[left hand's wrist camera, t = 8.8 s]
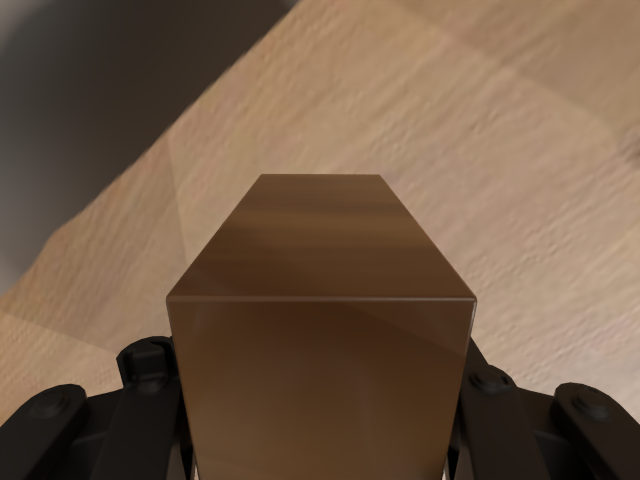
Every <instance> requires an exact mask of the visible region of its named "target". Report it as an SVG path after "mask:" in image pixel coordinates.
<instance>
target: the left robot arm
mask: <svg viewBox="0 0 640 480" xmlns="http://www.w3.org/2000/svg"><path fill="white" fill-rule="evenodd" d="M116 360H117V364H118V368H119V371H120V375H121V379H122V383H123V388H122V389H119V390H116V391H113V392H108V393H104V394H100V395H96V396H91V397H87V395H86V392H85V390H84V389H83V388H82V387H81V386H80V385H75V384H64V385H58V386H55V387H52V388H49V389H46V390H44V391H42V392H40V393H38V394H37V395H35V396H33V397H31V398H30V399H29V400H28V401H27V402H25V403H24V404H23V405H22V406H21V407H20V408H19V409H18V410H17V411H16V412H15V413H14V414H13V415H12V416H11V417H10V418H9V419H8V420H7V421H6V422H5V423H4V424H3V425H2V426H1V427H0V480H194V477H195V466H196V462H195V456H194V451H193V445H192V440H191V435H190V429H189V424H188V418H187V413H186V408H185V402H184V397H183V391H182V386H181V381H180V375H179V370H178V364H177V359H176V354H175V348H174V343H173V337H172V336H170V338H168V337H165V336H152V337H148V338H144V339H141V340H138V341H136V342H134V343H132V344H130V345H129V346H127V347H126V348H125V349H123V350H122V351H121V352H120V353H119V355H118V356H117V358H116ZM444 472H445V476H446V480H640V424H639V423H638V422H637V421H636V420H635V419H634V418H633V417H632V416H631V415H630V414H629V413H628V412H627V411H626V410H625V409H624V408H623V407H622V406H621V405H620V404H619V403H617V402H616V401H615V400H614V399H612V398H611V397H610V396H609V395H607V394H605V393H603V392H601V391H600V390H598V389H596V388H593V387H590V386H587V385H584V384H579V383H572V382H569V383H564V384H561V385H559V386H558V387H557V388H556V390H555V393H554V396H551V395H546V394H542V393H538V392H534V391H529V390H526V389H522V388H519V387H517V386H516V384H515V383H514V381H513V380H512V378H511V377H510V376H509V375H507V374H506V373H505V372H504V371H502V370H500V369H499V368H497V367H495V366H493V365H489V364H488V363H487V361H486V360H485V358H484V357H483V355H482V353H481V352H480V350H479V349H478V347H477V346H476V344H475V342H474V341H473V339H472V338H471V336H470V341H469V346H468V351H467V356H466V361H465V366H464V371H463V376H462V381H461V387H460V392H459V397H458V402H457V407H456V412H455V417H454V422H453V427H452V432H451V437H450V442H449V447H448V452H447V457H446V462H445V467H444ZM444 472H443V474H444Z"/></svg>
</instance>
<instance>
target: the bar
mask: <svg viewBox="0 0 640 480" xmlns="http://www.w3.org/2000/svg"><path fill="white" fill-rule="evenodd" d="M166 305H167V310H168V316H169V321H170V327H171V332H172V337H173V343H174V348H175V354H176V359H177V364H178V370H179V375H180V381H181V386H182V391H183V397H184V402H185V408H186V413H187V418H188V424H189V429H190V435H191V440H192V445H193V451H194V456H195V462H196V467H197V473H198V478H199V480H442V477H443V472H444V467H445V462H446V457H447V452H448V447H449V442H450V437H451V432H452V427H453V422H454V417H455V412H456V407H457V402H458V397H459V392H460V387H461V381H462V376H463V371H464V366H465V361H466V356H467V351H468V346H469V341H470V336H471V331H472V326H473V321H474V316H475V311H476V306H477V298H476V296H475V295H474V294H473V292H472V291H471V290H470V288H469V287H468V286H467V285H466V283H465V282H464V281H463V280H462V278H461V277H460V276H459V275H458V273H457V272H456V271H455V269H454V268H453V267H452V266H451V264H450V263H449V262H448V261H447V259H446V258H445V257H444V256H443V254H442V253H441V252H440V250H439V249H438V248H437V247H436V245H435V244H434V243H433V242H432V240H431V239H430V238H429V237H428V235H427V234H426V233H425V232H424V230H423V229H422V228H421V226H420V225H419V224H418V223H417V221H416V220H415V219H414V218H413V216H412V215H411V214H410V213H409V211H408V210H407V209H406V207H405V206H404V205H403V204H402V202H401V201H400V200H399V199H398V197H397V196H396V195H395V194H394V192H393V191H392V190H391V188H390V187H389V186H388V185H387V183H386V182H385V181H384V180H383V178H382V177H381V176H380V175H349V174H262V175H260V177H259V178H258V179H257V180H256V182H255V183H254V184H253V186H252V187H251V188H250V189H249V191H248V192H247V193H246V195H245V196H244V197H243V198H242V200H241V201H240V202H239V204H238V205H237V206H236V207H235V209H234V210H233V211H232V213H231V214H230V215H229V216H228V218H227V219H226V220H225V222H224V223H223V224H222V226H221V227H220V228H219V229H218V231H217V232H216V233H215V235H214V236H213V237H212V238H211V240H210V241H209V242H208V244H207V245H206V246H205V247H204V249H203V250H202V251H201V253H200V254H199V255H198V256H197V258H196V259H195V260H194V262H193V263H192V264H191V265H190V267H189V268H188V269H187V271H186V272H185V273H184V275H183V276H182V277H181V278H180V280H179V281H178V282H177V284H176V285H175V286H174V287H173V289H172V290H171V291H170V293H169V294H168V295H167V297H166Z"/></svg>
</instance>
